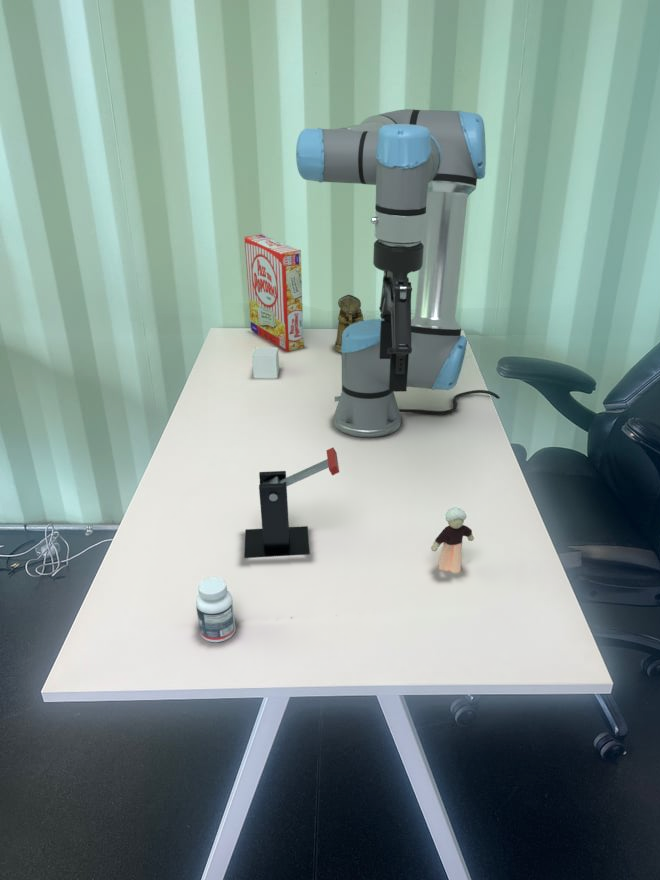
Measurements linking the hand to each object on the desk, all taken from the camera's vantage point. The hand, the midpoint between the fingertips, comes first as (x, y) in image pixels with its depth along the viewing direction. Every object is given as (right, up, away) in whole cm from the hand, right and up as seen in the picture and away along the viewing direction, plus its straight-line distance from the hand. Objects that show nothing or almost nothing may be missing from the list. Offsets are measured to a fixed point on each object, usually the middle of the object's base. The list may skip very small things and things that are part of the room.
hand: (392, 373), depth 125 cm
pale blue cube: (-32, +13, +72) cm, 80 cm away
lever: (-15, -18, +1) cm, 23 cm away
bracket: (-20, -29, +7) cm, 36 cm away
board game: (-32, +27, +93) cm, 102 cm away
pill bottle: (-26, -41, -11) cm, 50 cm away
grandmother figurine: (+10, -33, +3) cm, 35 cm away
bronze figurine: (-11, +22, +86) cm, 90 cm away
